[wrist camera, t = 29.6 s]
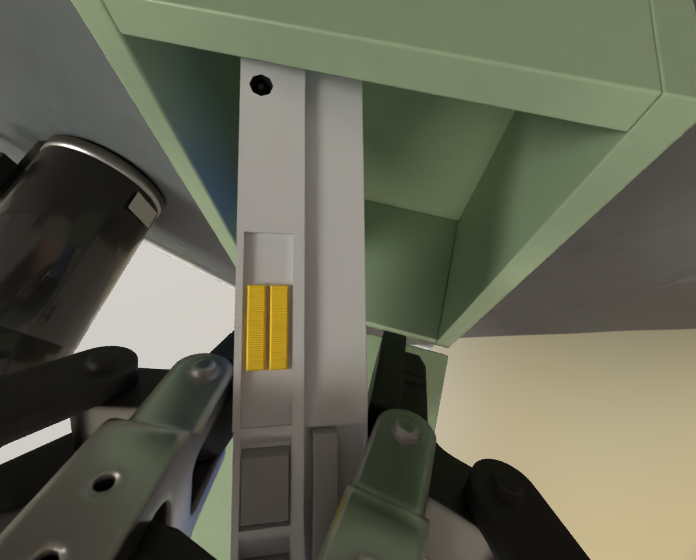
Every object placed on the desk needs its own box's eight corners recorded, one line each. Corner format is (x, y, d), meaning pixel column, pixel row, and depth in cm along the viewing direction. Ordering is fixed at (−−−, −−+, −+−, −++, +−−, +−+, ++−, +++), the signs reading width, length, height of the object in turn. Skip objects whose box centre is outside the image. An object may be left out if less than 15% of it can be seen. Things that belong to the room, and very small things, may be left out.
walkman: (324, 188, 16) (325, 475, 14) (258, 184, 15) (253, 481, 14) (369, 62, 8) (380, 658, 7) (239, 44, 7) (224, 690, 6)
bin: (241, -179, 10) (58, -18, 7) (664, -128, 9) (719, 103, 5) (301, 182, 24) (253, 295, 21) (468, 220, 23) (448, 348, 20)
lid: (109, 660, 15) (173, 594, 20) (374, 767, 14) (368, 666, 19) (248, 300, 20) (270, 322, 26) (448, 355, 19) (428, 366, 24)
